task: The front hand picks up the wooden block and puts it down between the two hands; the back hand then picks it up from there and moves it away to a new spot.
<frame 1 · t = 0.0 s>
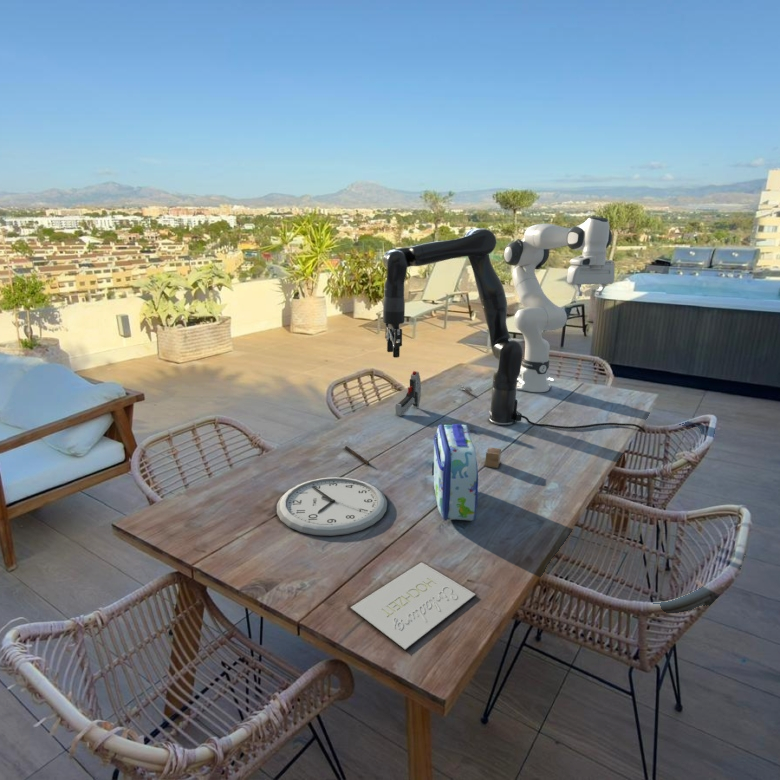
front hand: (393, 354, 187), 29 cm above the table, tool pointing down, fingers open, 8 cm apart
back hand: (588, 295, 209), 48 cm above the table, tool pointing down, fingers open, 8 cm apart
dark brown stick: (356, 456, 173), on the table
wall clock: (332, 505, 143), on the table
block: (492, 464, 169), on the table
invitation card: (414, 602, 107), on the table
lunch box: (452, 503, 145), on the table
fork: (466, 392, 243), on the table
toy gun: (408, 411, 216), on the table
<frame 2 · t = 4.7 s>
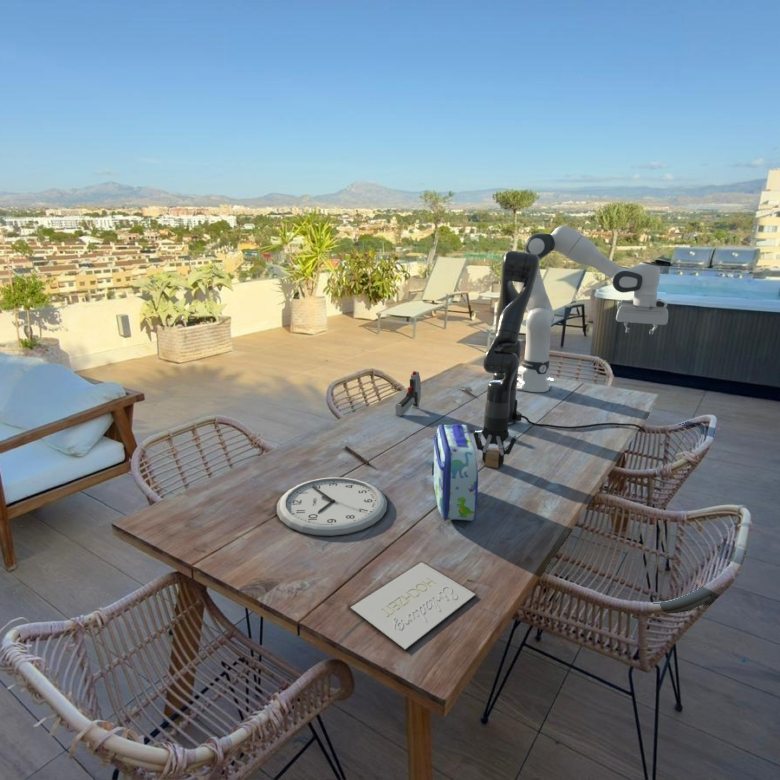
front hand: (492, 463, 169), 0 cm above the table, tool pointing down, fingers closed on block, 4 cm apart
back hand: (639, 333, 227), 31 cm above the table, tool pointing down, fingers open, 8 cm apart
block: (492, 464, 169), on the table, touching front hand
everything else where it was.
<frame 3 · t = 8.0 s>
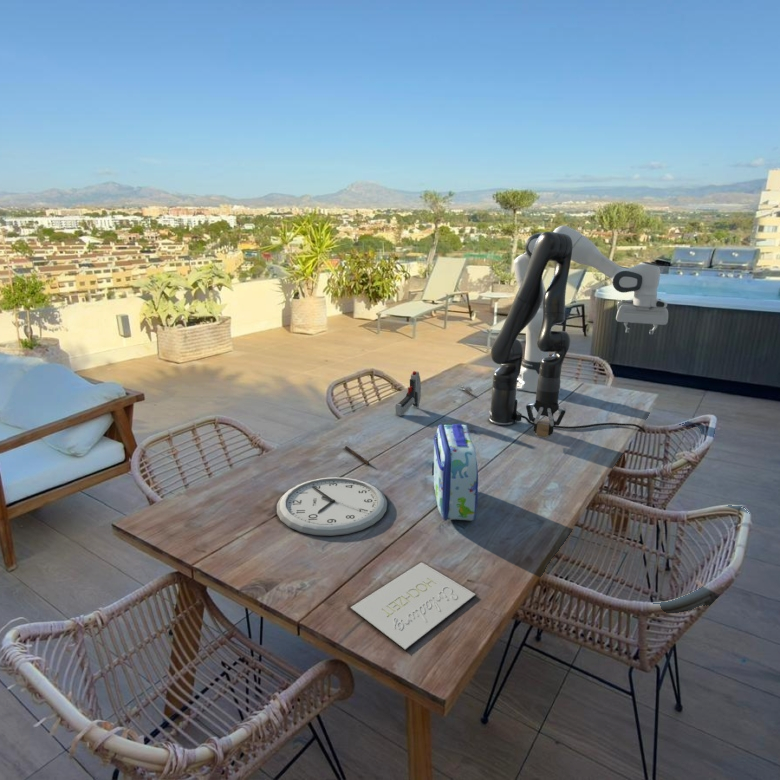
front hand: (542, 433, 186), 3 cm above the table, tool pointing down, fingers closed on block, 4 cm apart
back hand: (639, 333, 227), 31 cm above the table, tool pointing down, fingers open, 8 cm apart
block: (542, 434, 187), point 3 cm above the table, touching front hand
everything else where it was.
when the front hand's fingers open (1 cm above the table, at t = 11.6 s): block stays where it is, on the table.
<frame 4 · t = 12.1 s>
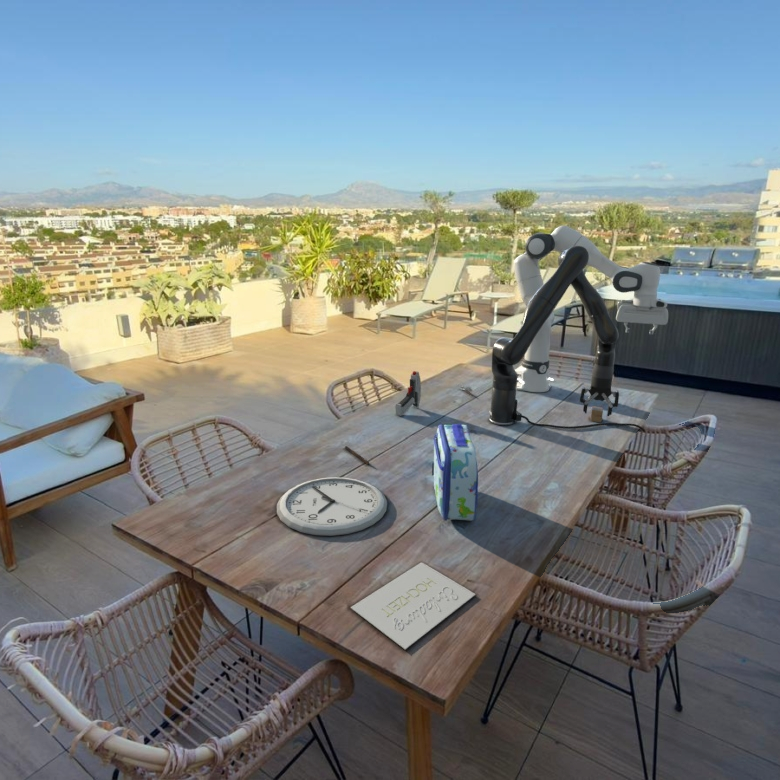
front hand: (596, 414, 210), 2 cm above the table, tool pointing down, fingers open, 8 cm apart
back hand: (639, 333, 227), 31 cm above the table, tool pointing down, fingers open, 8 cm apart
block: (595, 419, 211), on the table
everything else where it was.
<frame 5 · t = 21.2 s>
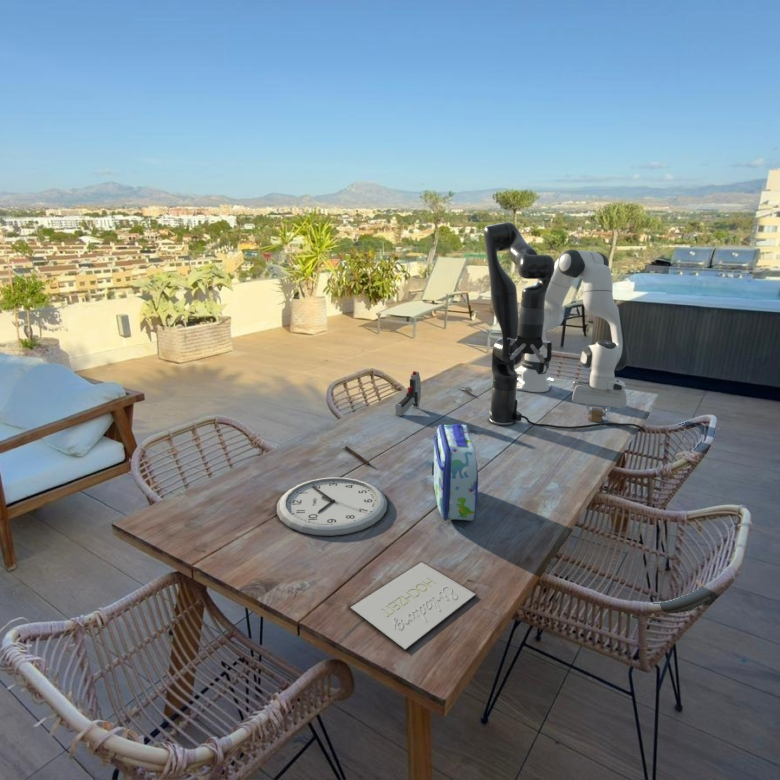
front hand: (526, 372, 166), 30 cm above the table, tool pointing down, fingers open, 8 cm apart
back hand: (596, 415, 210), 2 cm above the table, tool pointing down, fingers closed on block, 4 cm apart
block: (595, 419, 211), on the table, touching back hand
everything else where it was.
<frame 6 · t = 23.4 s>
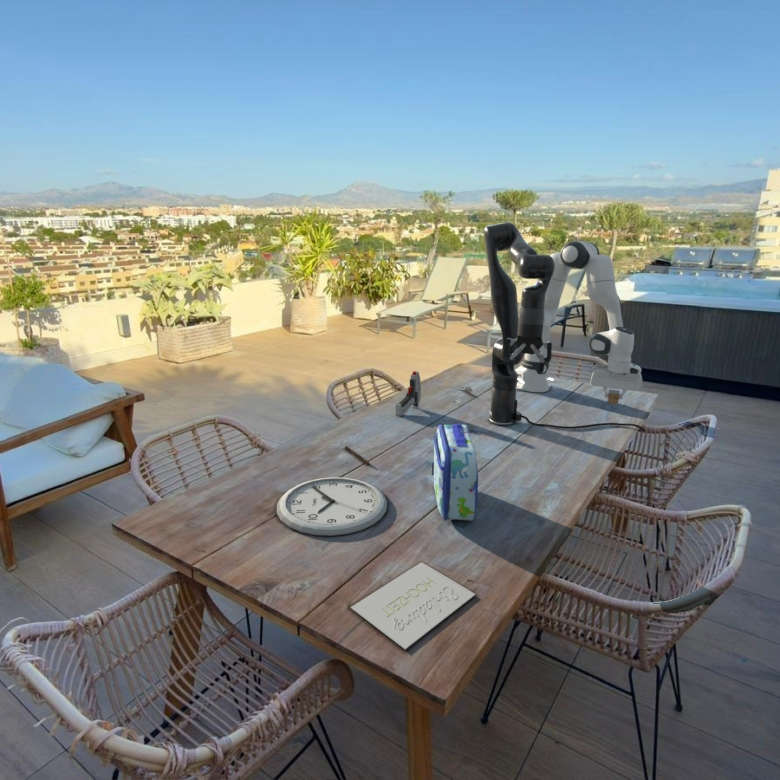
front hand: (526, 372, 166), 30 cm above the table, tool pointing down, fingers open, 8 cm apart
back hand: (613, 397, 223), 5 cm above the table, tool pointing down, fingers closed on block, 4 cm apart
block: (612, 402, 223), point 3 cm above the table, touching back hand
everything else where it was.
when the back hand's fingers open (3 cm above the table, at t = 25.9 s): block stays where it is, on the table.
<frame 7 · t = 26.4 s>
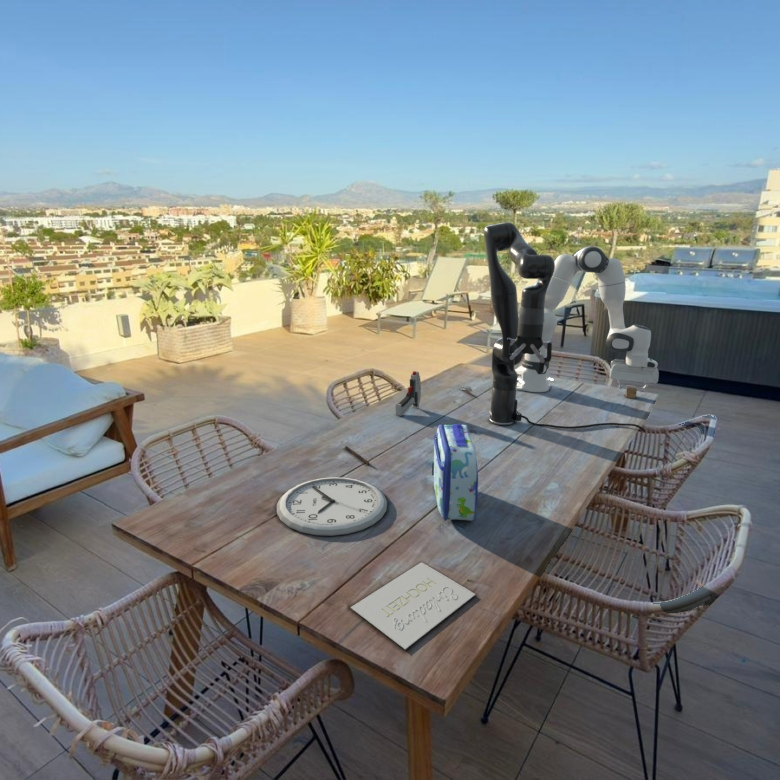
front hand: (526, 372, 166), 30 cm above the table, tool pointing down, fingers open, 8 cm apart
back hand: (631, 390, 240), 3 cm above the table, tool pointing down, fingers open, 8 cm apart
block: (630, 396, 241), on the table
everything else where it was.
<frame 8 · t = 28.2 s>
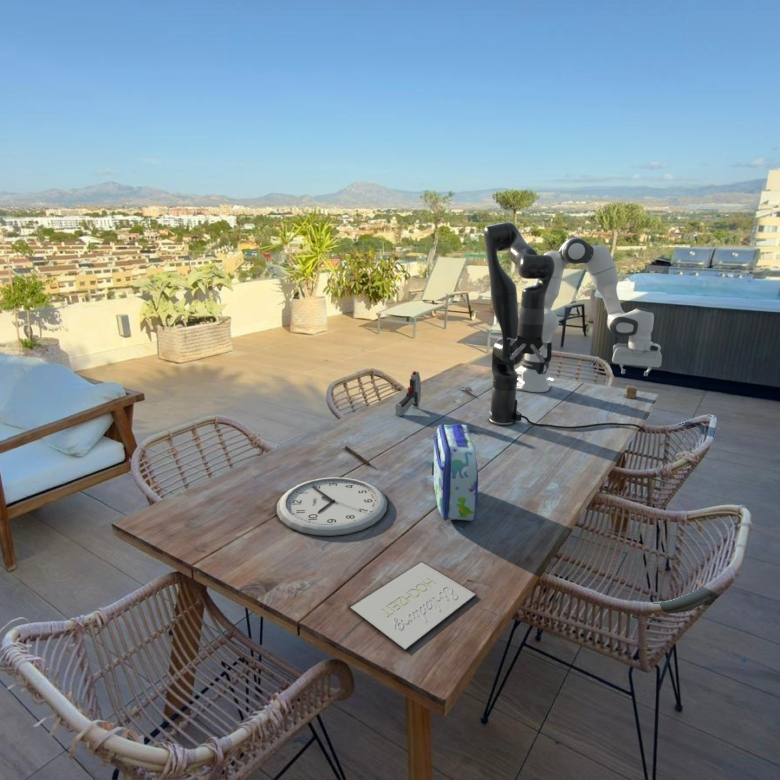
front hand: (526, 372, 166), 30 cm above the table, tool pointing down, fingers open, 8 cm apart
back hand: (634, 374, 238), 11 cm above the table, tool pointing down, fingers open, 8 cm apart
nothing on the table moved.
at the end: block inside the target area (0.2 cm from its centre), on the table; block tilted 0°; the two hands never held the block at the same time; the front hand is holding nothing; the back hand is holding nothing; block at rest at the end (0.0 cm/s) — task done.
